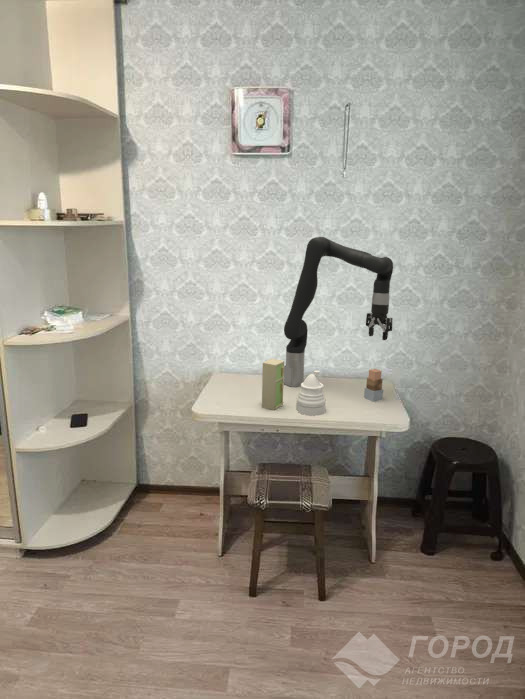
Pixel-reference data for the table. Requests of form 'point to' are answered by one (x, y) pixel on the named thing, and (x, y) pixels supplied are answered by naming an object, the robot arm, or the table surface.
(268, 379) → the toy refrigerator
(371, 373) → the terracotta block
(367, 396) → the slate block
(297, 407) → the honey pot
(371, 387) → the walnut block
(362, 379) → the table surface
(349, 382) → the table surface
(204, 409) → the table surface
